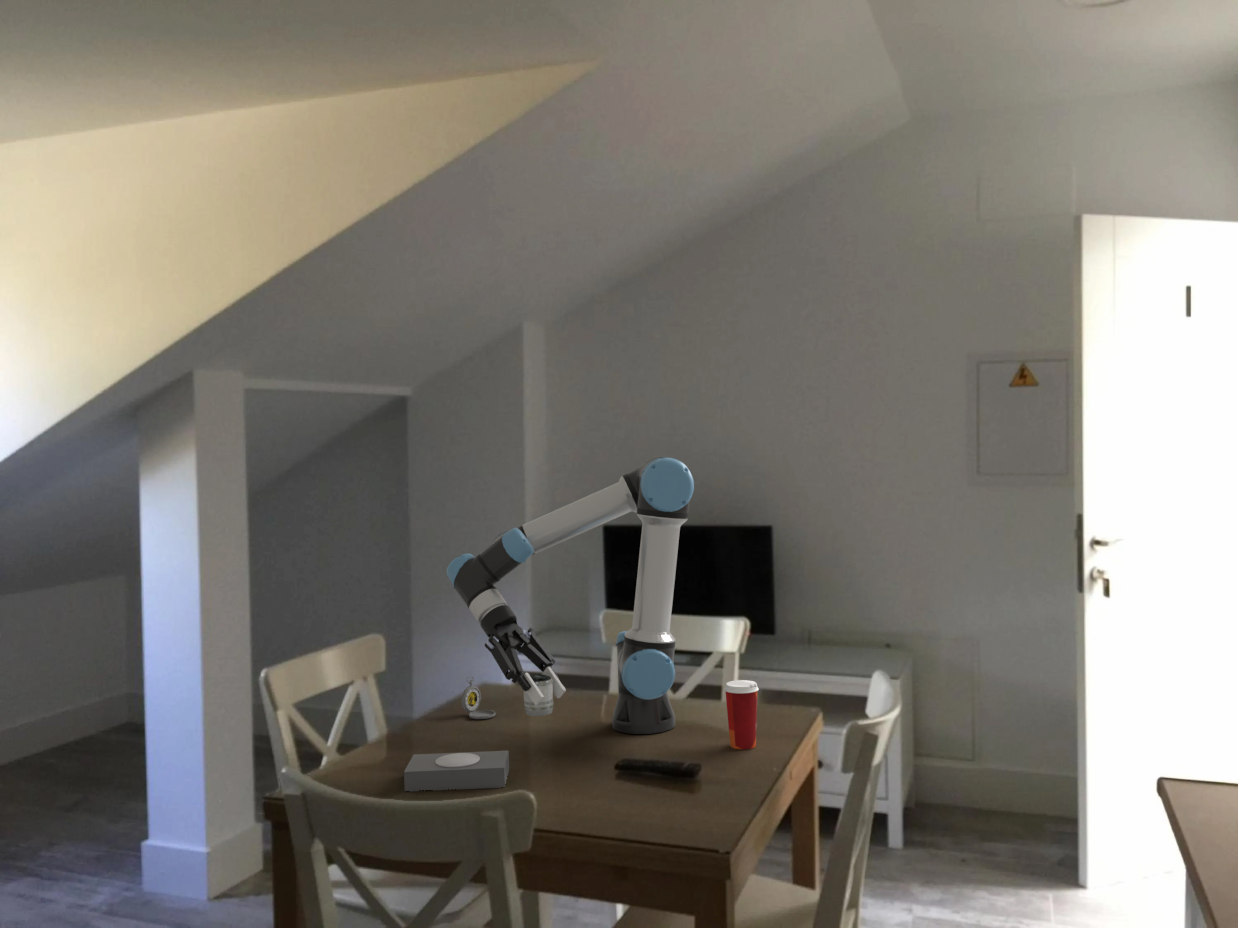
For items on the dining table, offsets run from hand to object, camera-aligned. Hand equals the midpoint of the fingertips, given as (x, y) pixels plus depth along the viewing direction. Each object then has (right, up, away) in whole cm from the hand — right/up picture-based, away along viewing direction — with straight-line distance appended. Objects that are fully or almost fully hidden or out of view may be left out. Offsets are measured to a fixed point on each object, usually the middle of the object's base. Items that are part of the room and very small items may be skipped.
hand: (550, 697), depth 231 cm
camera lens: (-3, -4, +2) cm, 5 cm away
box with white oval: (-19, -16, -6) cm, 25 cm away
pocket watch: (-21, -15, +45) cm, 52 cm away
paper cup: (+42, -13, +11) cm, 45 cm away
